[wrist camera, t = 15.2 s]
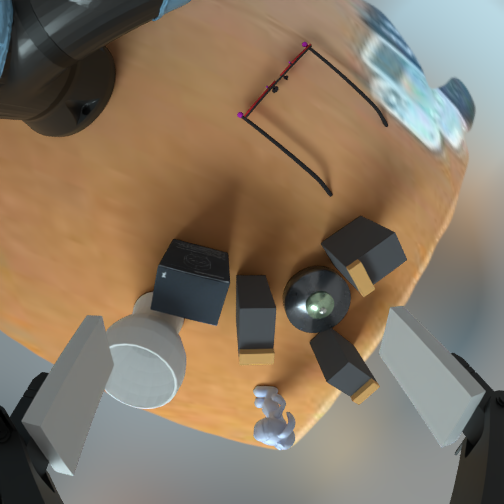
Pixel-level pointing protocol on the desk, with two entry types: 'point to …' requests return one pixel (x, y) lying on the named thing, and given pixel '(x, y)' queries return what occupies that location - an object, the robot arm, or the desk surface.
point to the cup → (146, 356)
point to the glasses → (275, 89)
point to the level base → (316, 299)
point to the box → (191, 282)
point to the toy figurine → (273, 419)
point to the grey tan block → (255, 320)
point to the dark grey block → (343, 365)
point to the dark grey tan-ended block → (364, 253)
